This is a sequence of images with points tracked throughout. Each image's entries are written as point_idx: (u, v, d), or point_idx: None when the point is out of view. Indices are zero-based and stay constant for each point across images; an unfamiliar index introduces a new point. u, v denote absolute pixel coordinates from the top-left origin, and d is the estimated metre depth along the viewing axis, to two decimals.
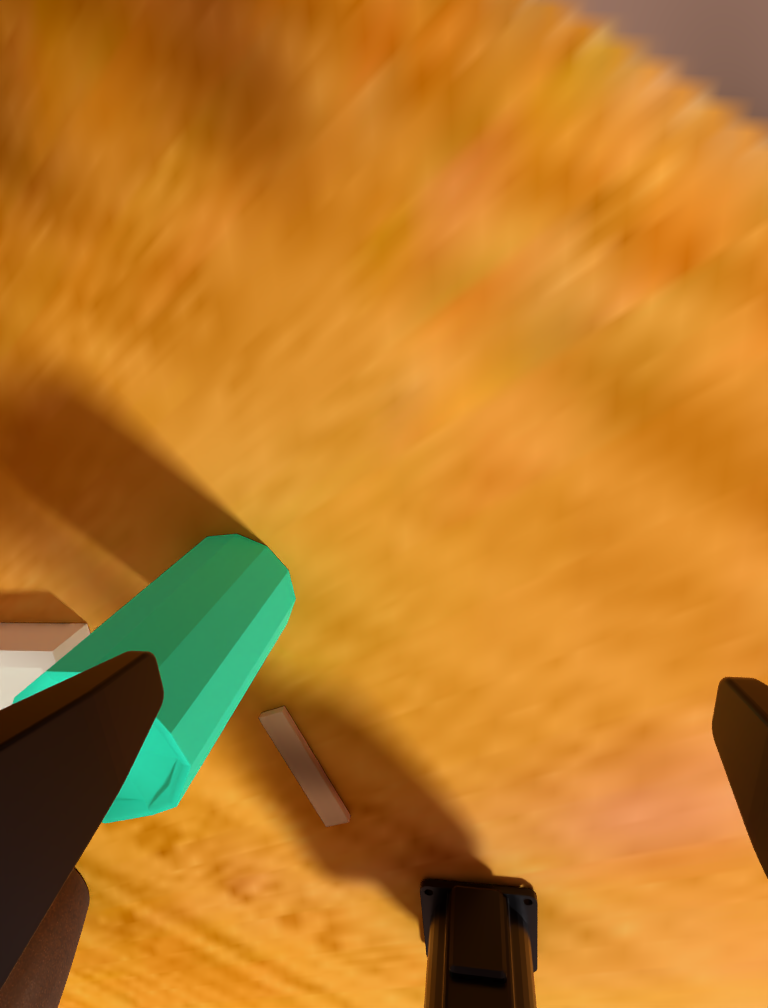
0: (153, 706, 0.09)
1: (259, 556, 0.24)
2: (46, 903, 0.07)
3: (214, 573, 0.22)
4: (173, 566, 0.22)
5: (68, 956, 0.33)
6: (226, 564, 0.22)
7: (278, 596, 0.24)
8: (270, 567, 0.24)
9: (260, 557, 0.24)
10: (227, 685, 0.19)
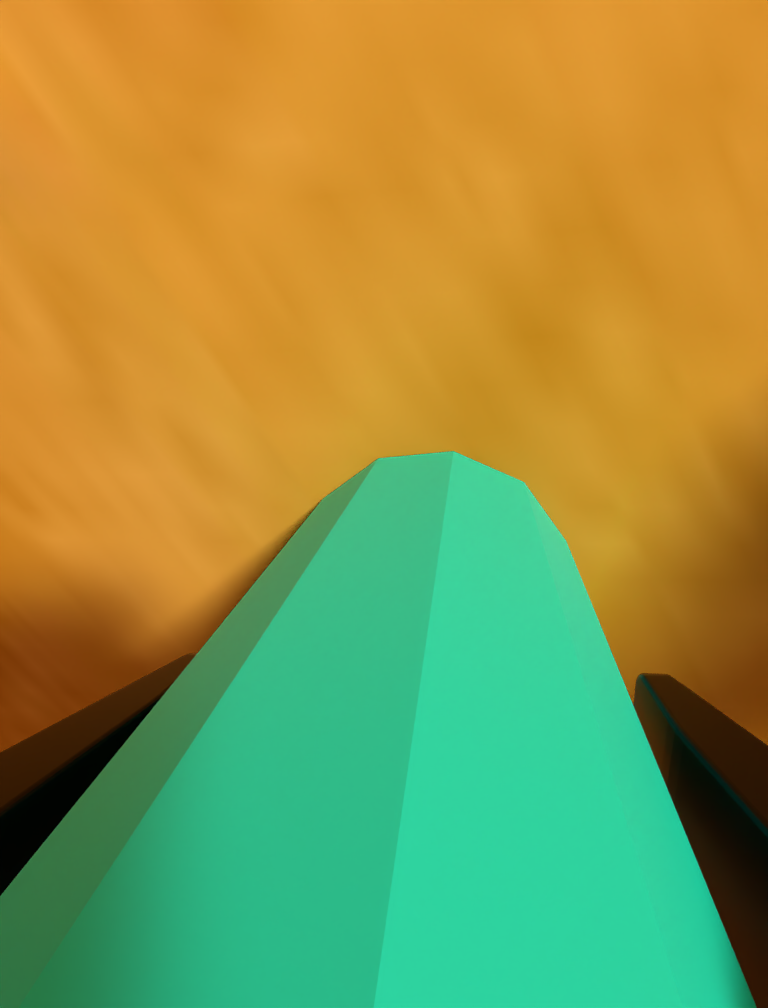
0: None
1: (312, 514, 0.10)
2: None
3: None
4: None
5: None
6: None
7: (385, 481, 0.09)
8: (339, 493, 0.10)
9: (312, 513, 0.10)
10: (335, 687, 0.04)
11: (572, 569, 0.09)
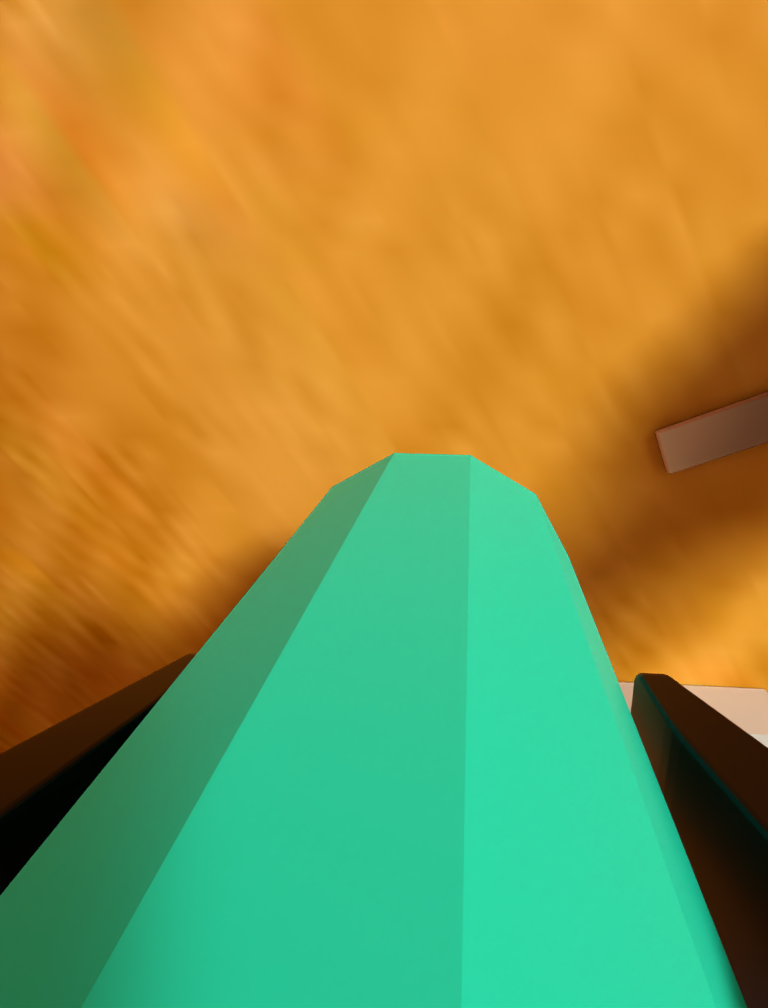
0: None
1: None
2: None
3: None
4: None
5: None
6: None
7: (328, 505, 0.10)
8: None
9: None
10: (207, 703, 0.04)
11: (529, 519, 0.09)
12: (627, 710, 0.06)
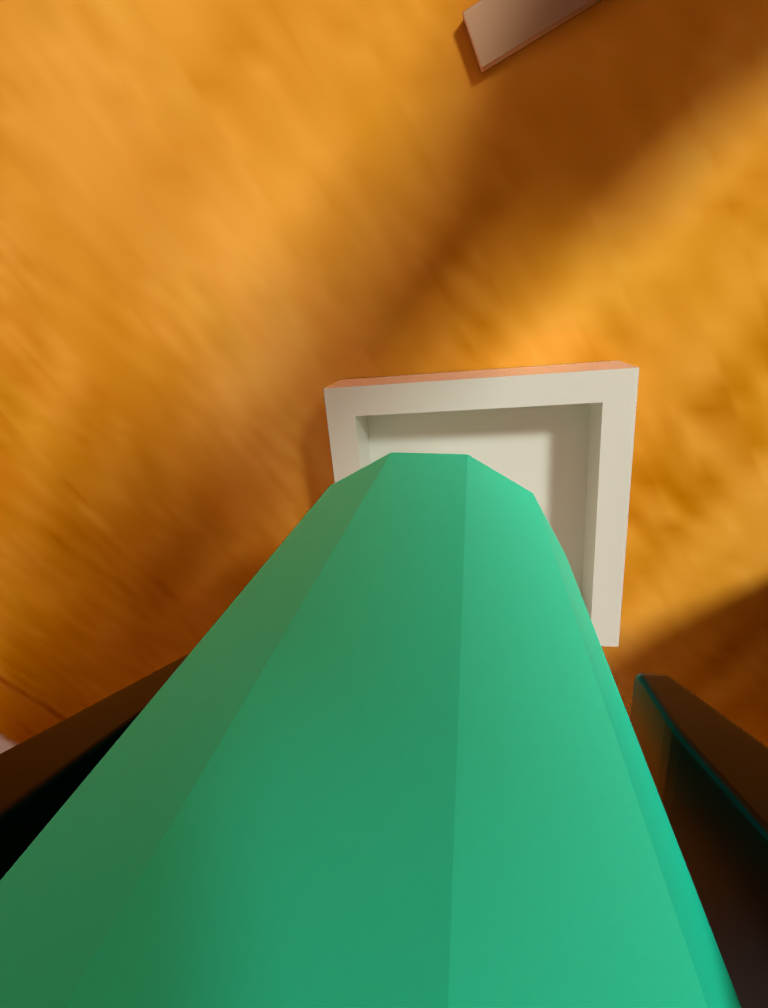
0: None
1: None
2: None
3: None
4: None
5: None
6: None
7: (324, 504, 0.10)
8: None
9: None
10: (199, 701, 0.04)
11: (526, 518, 0.09)
12: (623, 709, 0.06)
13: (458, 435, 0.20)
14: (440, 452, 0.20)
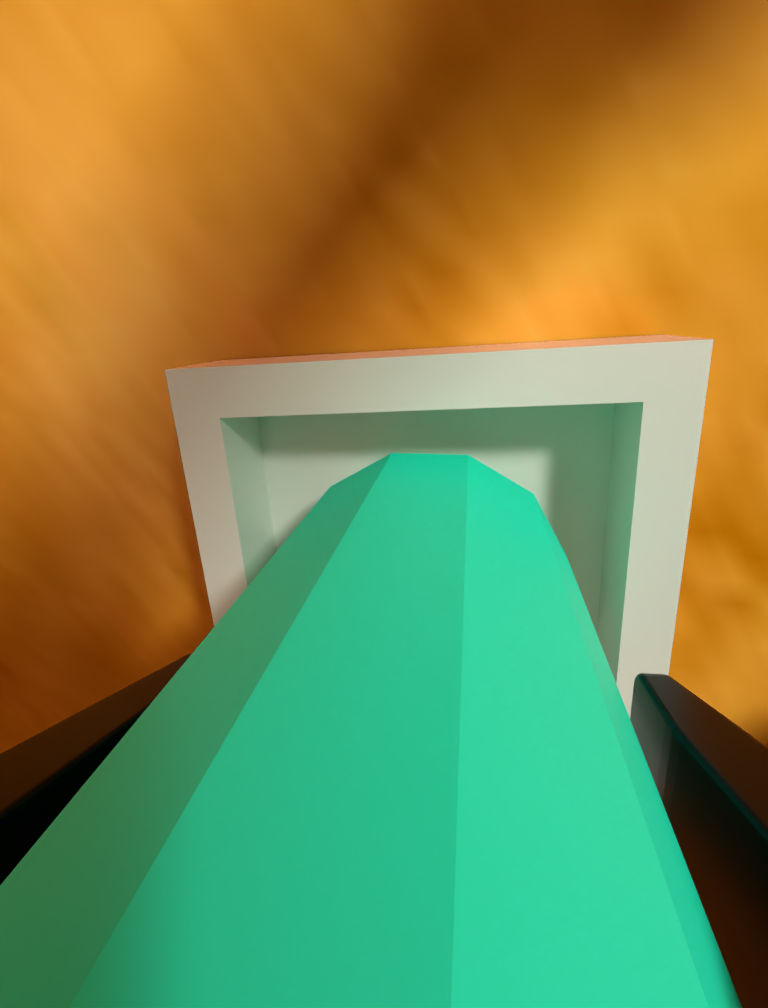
0: None
1: None
2: None
3: None
4: None
5: None
6: None
7: (325, 505, 0.10)
8: None
9: None
10: (200, 704, 0.04)
11: (526, 519, 0.09)
12: (624, 710, 0.06)
13: (401, 452, 0.12)
14: None
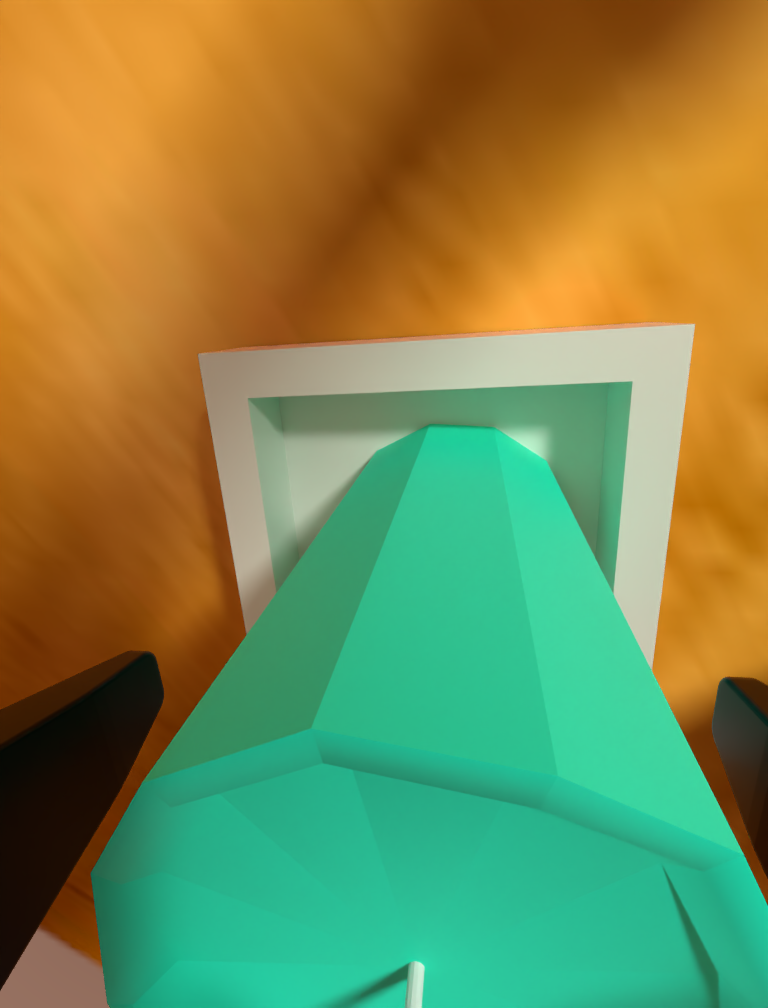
0: (153, 706, 0.09)
1: (429, 433, 0.12)
2: (46, 903, 0.07)
3: (372, 481, 0.10)
4: None
5: None
6: (385, 466, 0.11)
7: (513, 454, 0.11)
8: (460, 433, 0.12)
9: (430, 432, 0.12)
10: (580, 589, 0.06)
11: None
12: None
13: (412, 431, 0.13)
14: None
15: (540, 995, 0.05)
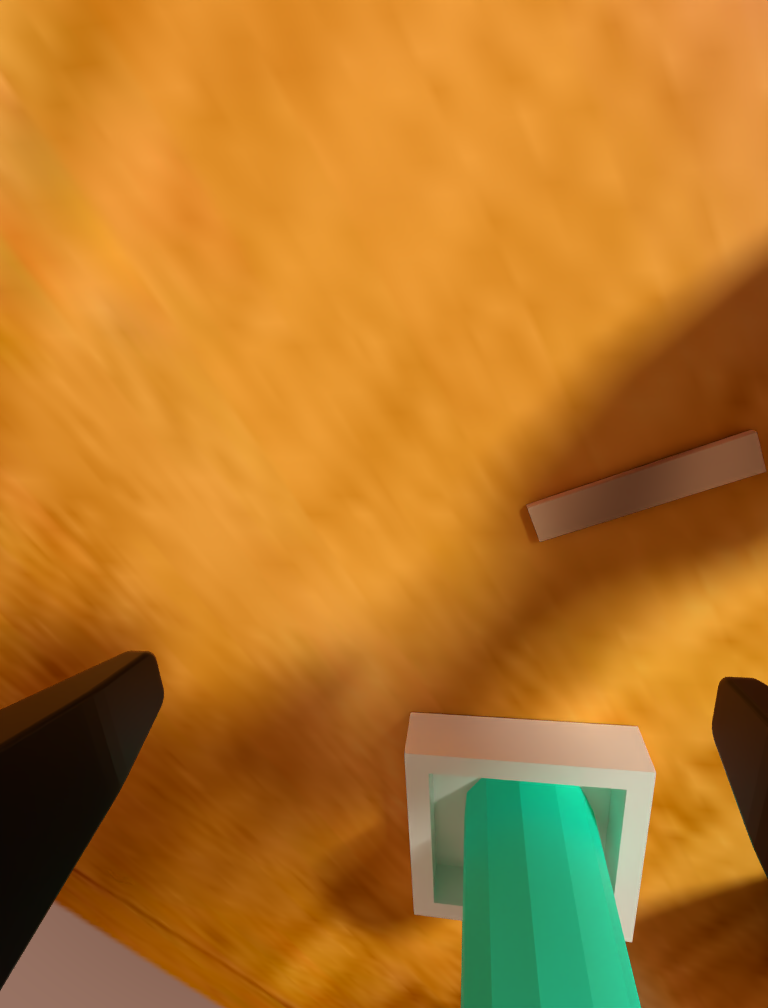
0: (153, 706, 0.09)
1: (520, 783, 0.23)
2: (46, 903, 0.07)
3: (502, 842, 0.21)
4: (467, 856, 0.22)
5: None
6: (503, 820, 0.22)
7: (566, 808, 0.22)
8: (536, 785, 0.23)
9: (521, 783, 0.23)
10: (606, 962, 0.17)
11: None
12: None
13: None
14: None
15: None
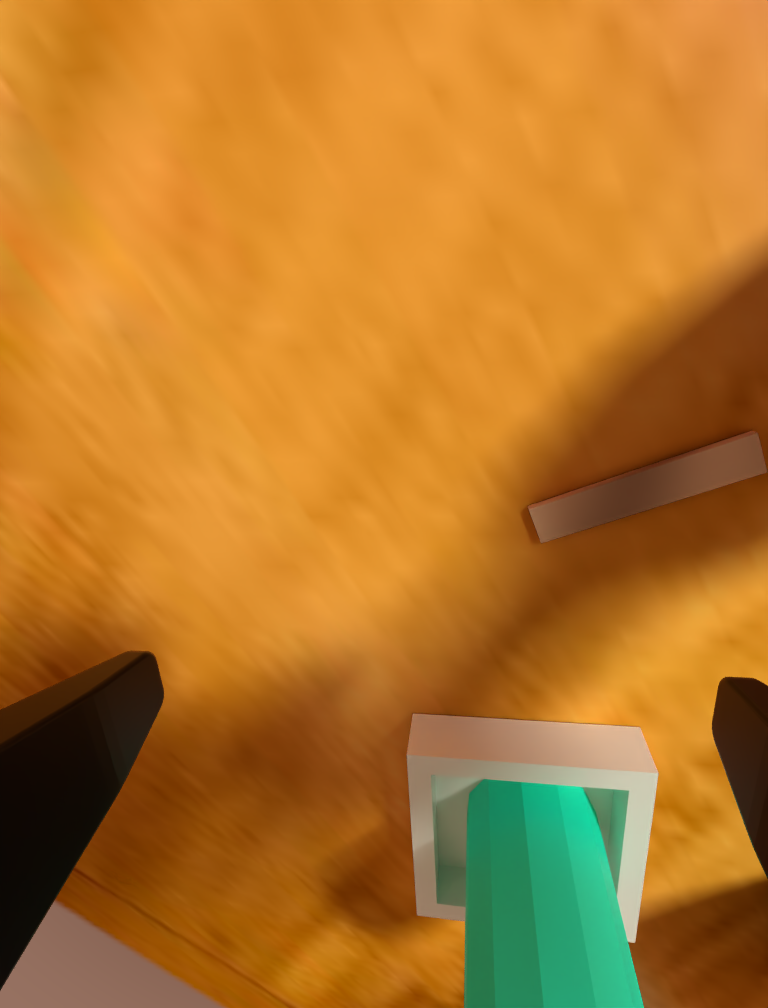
0: (153, 706, 0.09)
1: (522, 784, 0.23)
2: (46, 903, 0.07)
3: (504, 843, 0.21)
4: (470, 857, 0.22)
5: None
6: (506, 821, 0.22)
7: (568, 809, 0.22)
8: (539, 786, 0.23)
9: (523, 784, 0.23)
10: (609, 963, 0.17)
11: None
12: None
13: None
14: None
15: None
